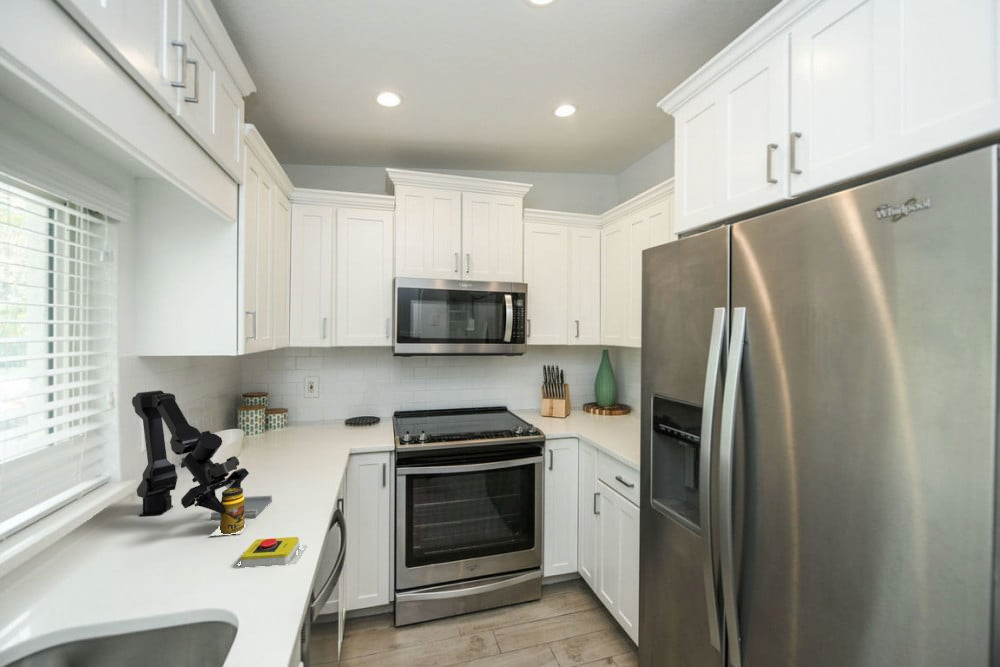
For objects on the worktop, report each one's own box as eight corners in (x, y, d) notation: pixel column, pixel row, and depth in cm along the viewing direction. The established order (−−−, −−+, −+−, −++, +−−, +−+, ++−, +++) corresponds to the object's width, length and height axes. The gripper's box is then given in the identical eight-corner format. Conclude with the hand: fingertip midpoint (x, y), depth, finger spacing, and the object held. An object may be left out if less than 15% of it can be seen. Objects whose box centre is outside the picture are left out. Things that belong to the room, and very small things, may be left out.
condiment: (240, 534, 120) (240, 493, 119) (207, 538, 118) (207, 496, 118) (249, 523, 127) (249, 484, 127) (218, 526, 125) (218, 486, 125)
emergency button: (250, 534, 112) (308, 531, 114) (250, 551, 112) (308, 547, 114) (232, 553, 102) (296, 548, 104) (232, 570, 102) (296, 566, 104)
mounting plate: (210, 520, 128) (210, 516, 128) (231, 503, 141) (231, 500, 141) (255, 518, 130) (255, 514, 130) (272, 501, 143) (272, 497, 143)
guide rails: (211, 517, 129) (211, 513, 129) (231, 501, 141) (231, 497, 141) (255, 514, 130) (255, 510, 130) (271, 498, 143) (271, 495, 143)
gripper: (189, 460, 114) (223, 503, 112) (244, 442, 132) (274, 479, 130) (166, 486, 115) (199, 529, 113) (223, 465, 134) (252, 502, 132)
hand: (234, 508), depth 122 cm, fingers closed on condiment, 6 cm apart
